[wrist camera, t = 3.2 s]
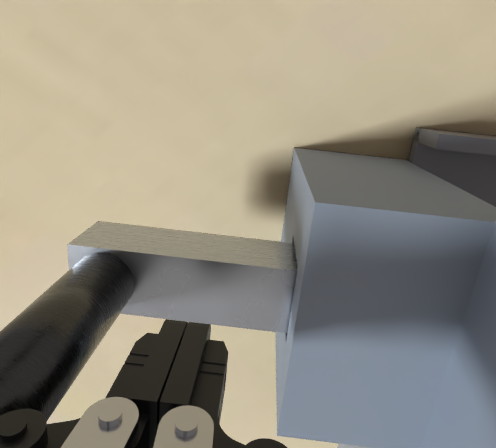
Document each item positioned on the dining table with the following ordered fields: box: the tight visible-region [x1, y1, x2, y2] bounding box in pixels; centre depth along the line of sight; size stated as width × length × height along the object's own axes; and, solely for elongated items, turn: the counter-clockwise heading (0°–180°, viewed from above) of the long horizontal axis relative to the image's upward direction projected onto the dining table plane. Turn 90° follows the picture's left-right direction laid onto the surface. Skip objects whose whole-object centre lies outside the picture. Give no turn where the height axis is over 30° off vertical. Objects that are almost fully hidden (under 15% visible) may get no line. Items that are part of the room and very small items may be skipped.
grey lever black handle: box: [0, 221, 298, 421], centre depth 14 cm, size 3×25×11 cm, turn 84°
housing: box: [276, 148, 496, 448], centre depth 18 cm, size 12×7×16 cm, turn 174°
